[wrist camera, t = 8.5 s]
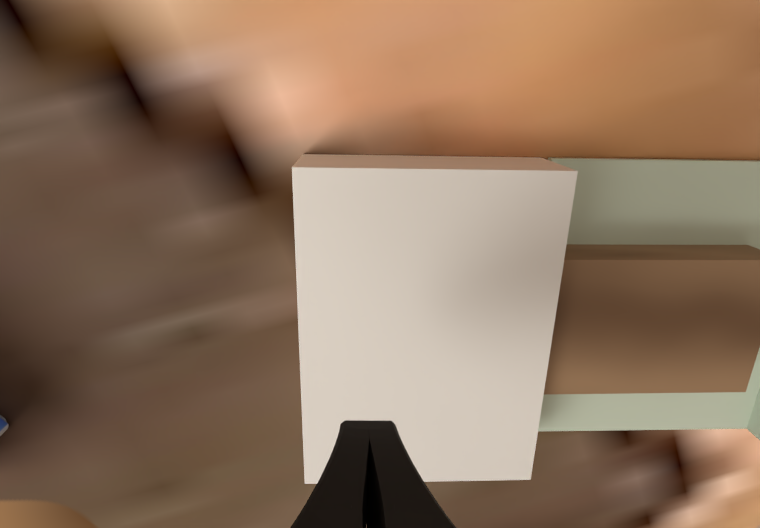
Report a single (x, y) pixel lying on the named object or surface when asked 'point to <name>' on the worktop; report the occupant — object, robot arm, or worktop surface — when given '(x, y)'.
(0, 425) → the medicine box
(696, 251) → the tile
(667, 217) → the mat
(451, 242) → the white box
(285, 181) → the worktop surface
